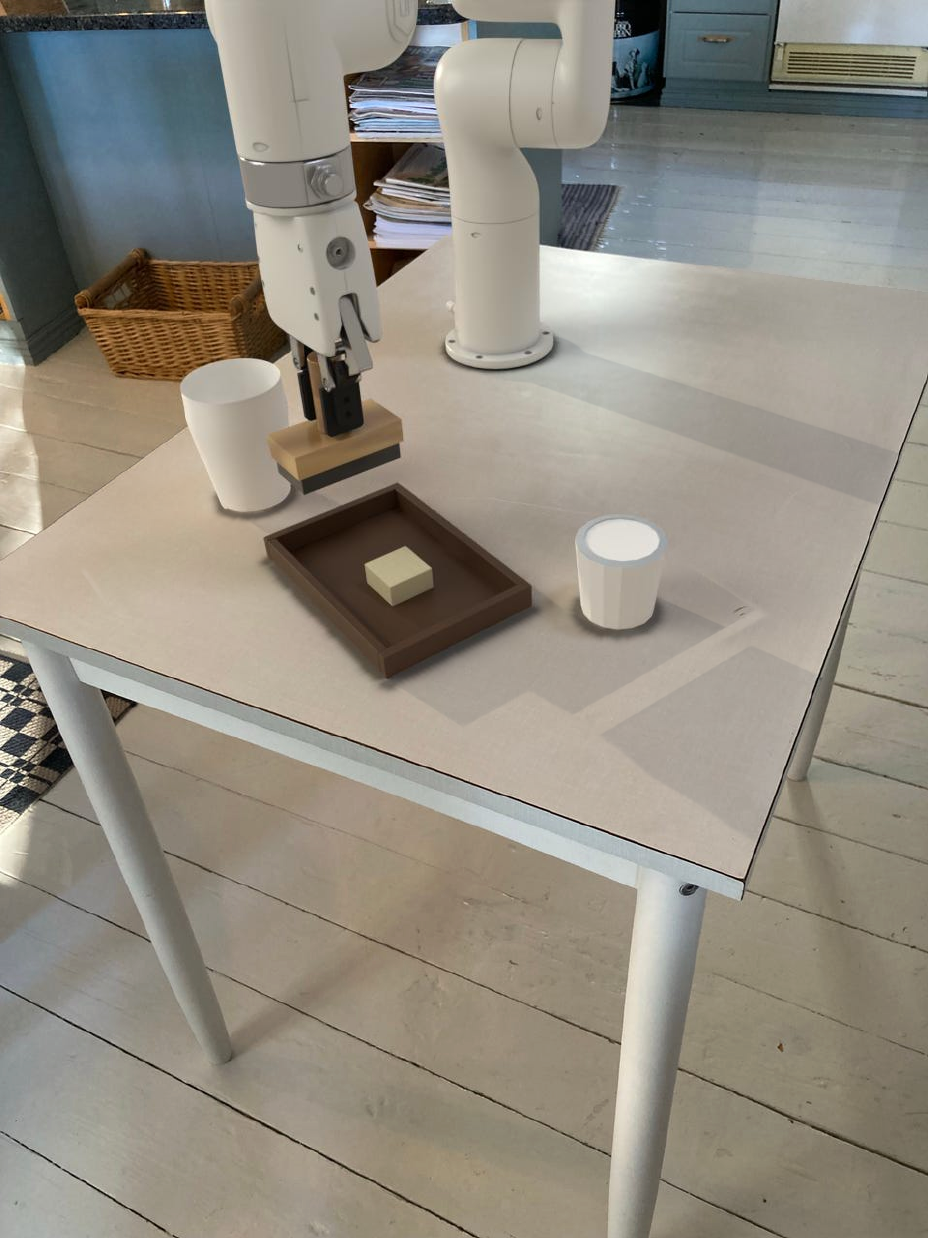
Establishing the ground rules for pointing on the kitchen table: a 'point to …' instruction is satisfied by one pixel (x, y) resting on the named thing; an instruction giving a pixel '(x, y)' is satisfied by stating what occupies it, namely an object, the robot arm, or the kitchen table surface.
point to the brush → (334, 443)
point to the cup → (238, 429)
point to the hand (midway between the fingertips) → (334, 420)
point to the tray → (385, 635)
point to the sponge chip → (399, 575)
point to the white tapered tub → (619, 569)
